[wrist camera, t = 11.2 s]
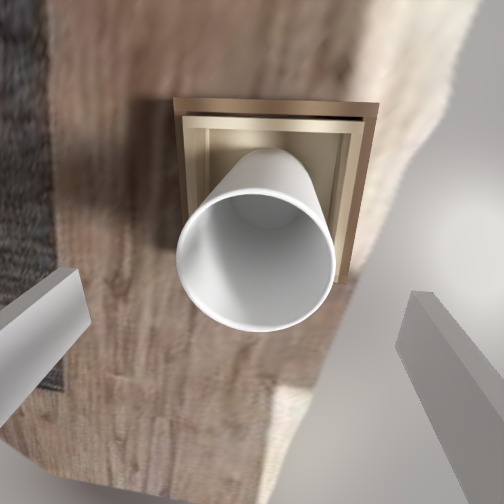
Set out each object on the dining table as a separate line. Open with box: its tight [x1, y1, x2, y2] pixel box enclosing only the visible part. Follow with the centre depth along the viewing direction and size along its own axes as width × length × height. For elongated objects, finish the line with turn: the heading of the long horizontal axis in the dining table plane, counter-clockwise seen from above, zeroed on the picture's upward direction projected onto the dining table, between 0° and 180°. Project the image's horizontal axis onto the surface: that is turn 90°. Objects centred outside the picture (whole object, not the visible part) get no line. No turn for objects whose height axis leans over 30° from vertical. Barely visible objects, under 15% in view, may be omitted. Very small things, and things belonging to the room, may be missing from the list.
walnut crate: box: [173, 97, 379, 285], centre depth 29 cm, size 16×16×5 cm
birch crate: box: [182, 115, 365, 283], centre depth 28 cm, size 13×13×6 cm
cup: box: [176, 148, 336, 332], centre depth 23 cm, size 8×8×16 cm
